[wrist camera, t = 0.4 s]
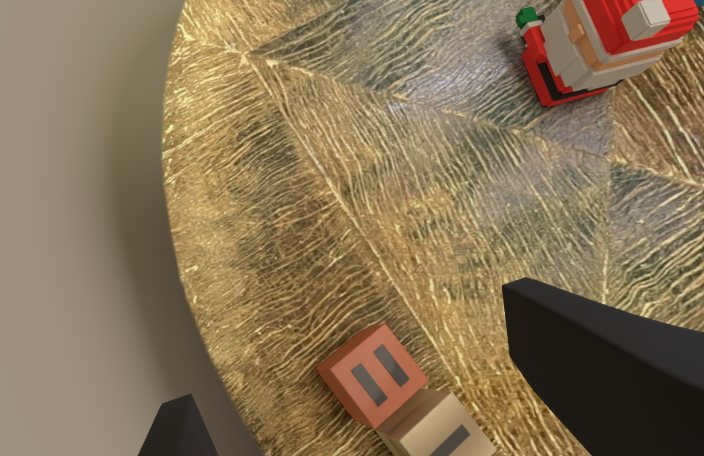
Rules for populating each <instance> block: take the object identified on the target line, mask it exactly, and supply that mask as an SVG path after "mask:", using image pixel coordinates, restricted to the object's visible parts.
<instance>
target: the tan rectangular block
mask: <svg viewBox="0 0 704 456" xmlns="http://www.w3.org/2000/svg"><path fill="white" fill-rule="evenodd" d="M375 431H376V433H377V434H378V435H379V437H380V438H381V439H382V441H383V442H384V443H385V444H386V446H387V447H388V448H389V450H390V451H391V452H392V454H393V455H394V456H492V455H493V453H494V452H495V451H496V448H495V447H494V445H493V444H492V443H491V442H490V440H489V439H488V438H487V436H486V435H485V434H484V433H483V431H482V430H481V429H480V427H479V426H478V425H477V423H476V422H475V421H474V420H473V418H472V417H471V416H470V414H469V413H468V412H467V411H466V409H465V408H464V407H463V405H462V404H461V403H460V401H459V400H458V399H457V398H456V396H455V395H454V394H453V393H452V392H446V391H438V390H429V389H420V390H418V391H417V392H416V393H415V394H414V395H413V396H412V397H411V398H410V399H408V400H407V401H406V402H405V403H404V404H403V405H402V406H401V407H400V408H398V409H397V410H396V411H395V412H394V413H393V414H392V415H391V416H390V417H388V418H387V419H386V420H385V421H384V422H383V423H382V424H381V425H380V426H378V427H377V428H376V429H375Z"/></svg>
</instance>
